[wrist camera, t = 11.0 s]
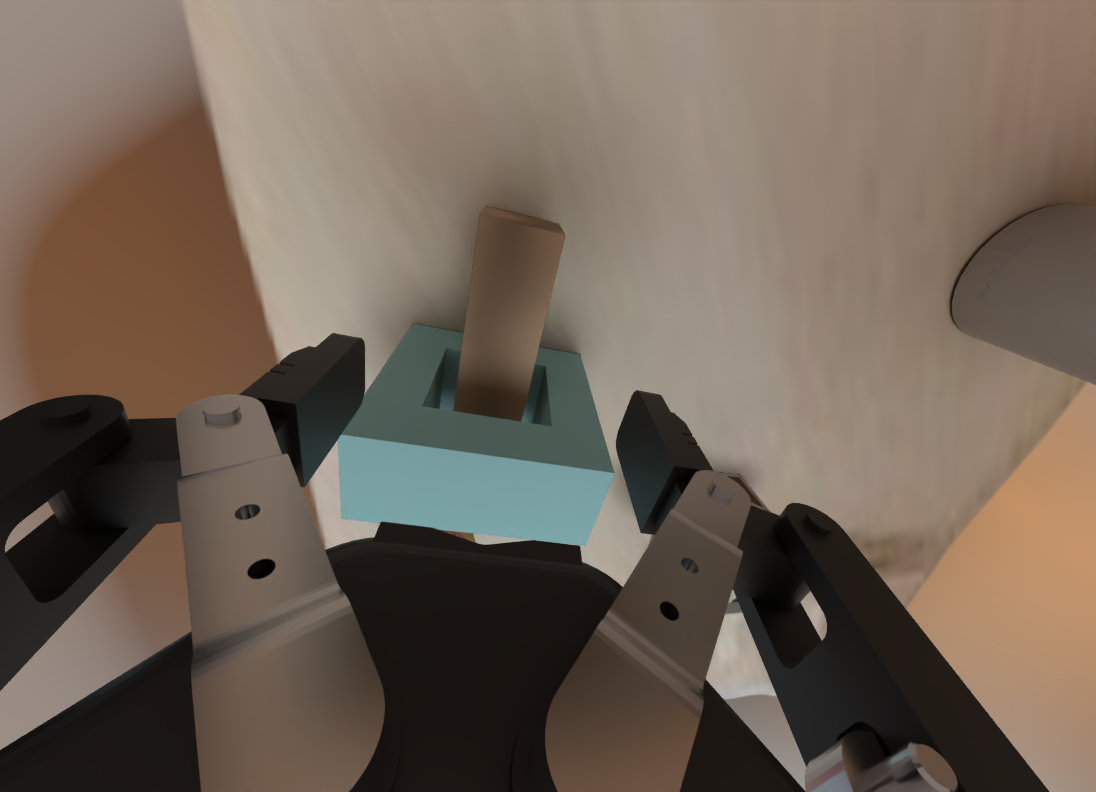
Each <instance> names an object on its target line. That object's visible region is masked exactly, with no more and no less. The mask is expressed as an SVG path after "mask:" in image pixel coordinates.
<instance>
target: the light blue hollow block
mask: <svg viewBox="0 0 1096 792" xmlns="http://www.w3.org/2000/svg"><path fill="white" fill-rule="evenodd" d="M463 335H464V333H462V332H456V331H451V330H446V329H440V328H435V327H430V326H424V325H419V324H414V323H413V325H412V326H411V327H410V329H409V330H408V332H407V333H406V335H405V336H404V338H403V339H402V341H401V342H400V344H399V345H398V346H397V348H396V349H395V351H394V352H393V354H392V355H391V357H390V358H389V360H388V361H387V363H386V364H385V365H384V367H383V368H382V370H381V371H380V373H379V374H378V376H377V377H376V379H375V380H374V382H373V383H372V384H371V386H370V387H369V389H368V390H367V392H366V393H365V395H364V397H363V401H362V404H361V406H360V408H359V409H358V411H357V412H356V414H355V415H354V417H353V418H352V420H351V421H350V422H349V424H348V425H347V427H346V428H345V430H344V431H343V433H342V434H341V435H340V437H339V438H338V456H339V478H340V499H341V519H347V520H356V521H365V522H374V523H381V521H383V522H391V523H399V524H408V525H416V526H424V527H432V528H435V529H438V530H447V531H456V532H465V533H474V534H483V535H492V536H501V537H511V538H520V539H529V540H538V541H547V542H556V543H565V544H574V545H583V546H586V543H587V541H588V538H589V536H590V533H591V531H592V528H593V526H594V523H595V521H596V518H597V516H598V513H599V511H600V508H601V506H602V503H603V501H604V498H605V496H606V493H607V491H608V488H609V486H610V483H611V481H612V478H613V476H614V470H613V466H612V463H611V460H610V456H609V453H608V449H607V446H606V442H605V439H604V435H603V432H602V429H601V425H600V422H599V418H598V415H597V411H596V408H595V404H594V401H593V397H592V394H591V391H590V387H589V384H588V380H587V377H586V373H585V370H584V366H583V363H582V360H581V356H580V355H579V354H574V353H569V352H563V351H558V350H553V349H547V348H542V347H539V349H538V353H537V357H536V361H535V366H534V370H533V374H532V378H531V383H530V387H529V391H528V395H527V399H526V404H525V408H524V412H523V416H522V421H521V422H520V421H514V420H507V419H501V418H494V417H488V416H481V415H475V414H469V413H462V412H456V411H453V410H454V403H455V395H456V388H457V380H458V373H459V365H460V358H461V350H462V343H463Z"/></svg>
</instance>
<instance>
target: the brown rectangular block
mask: <svg viewBox="0 0 1096 792" xmlns="http://www.w3.org/2000/svg"><path fill="white" fill-rule="evenodd" d="M564 239H565V234H564V232H563V230H562V228H561V226H560V225H559V224H558V223H554V222H550V221H546V220H542V219H538V218H534V217H530V216H526V215H522V214H518V213H513V212H509V211H505V210H501V209H497V208H493V207H489V206H486V207H485V209H484V210H483V211H482V212H481V213H480V215H479V222H478V230H477V237H476V245H475V252H474V260H473V267H472V275H471V283H470V290H469V298H468V305H467V313H466V320H465V328H464V335H463V343H462V350H461V358H460V365H459V373H458V380H457V388H456V395H455V403H454V410H453V411H456V412H462V413H469V414H475V415H481V416H488V417H494V418H501V419H507V420H514V421H520V422H521V421H522V416H523V412H524V408H525V404H526V399H527V395H528V391H529V387H530V383H531V378H532V374H533V370H534V366H535V361H536V357H537V353H538V349H539V344H540V340H541V336H542V332H543V328H544V323H545V319H546V315H547V311H548V306H549V302H550V298H551V294H552V289H553V285H554V281H555V277H556V273H557V268H558V264H559V260H560V256H561V251H562V247H563V243H564Z"/></svg>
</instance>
